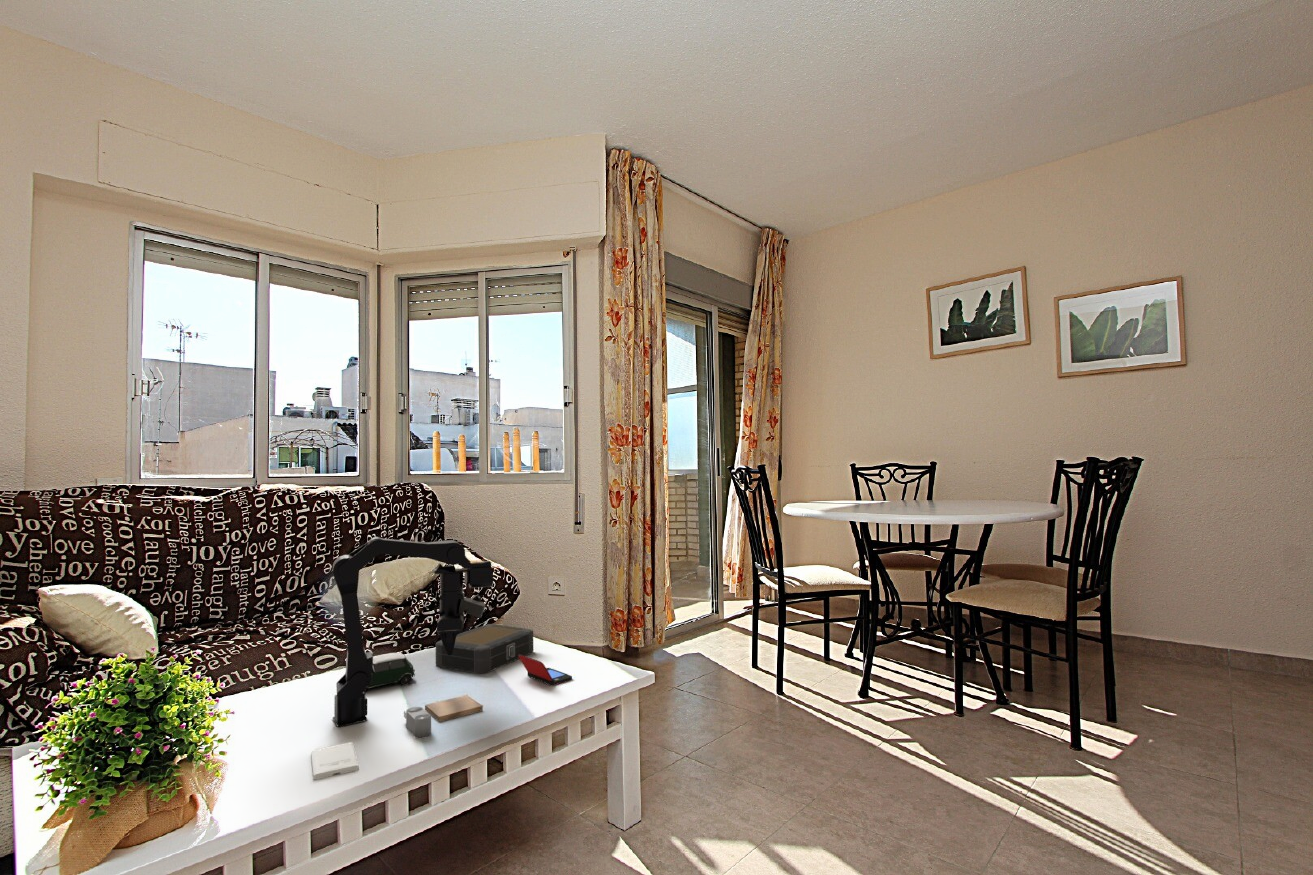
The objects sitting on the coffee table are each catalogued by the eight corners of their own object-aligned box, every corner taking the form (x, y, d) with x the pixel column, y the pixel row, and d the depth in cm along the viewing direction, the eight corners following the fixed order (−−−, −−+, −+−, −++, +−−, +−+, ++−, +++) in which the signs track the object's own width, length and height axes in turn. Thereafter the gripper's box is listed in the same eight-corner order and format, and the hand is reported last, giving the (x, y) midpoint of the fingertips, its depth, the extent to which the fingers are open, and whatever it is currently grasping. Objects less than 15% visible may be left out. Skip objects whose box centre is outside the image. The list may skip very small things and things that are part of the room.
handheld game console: (573, 680, 187) (573, 654, 187) (542, 690, 179) (542, 662, 180) (548, 670, 196) (548, 645, 196) (517, 679, 188) (516, 653, 188)
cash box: (484, 676, 192) (484, 649, 192) (433, 667, 201) (433, 641, 201) (537, 653, 214) (536, 629, 214) (488, 645, 223) (488, 622, 223)
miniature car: (341, 688, 183) (341, 659, 183) (408, 674, 194) (408, 647, 194) (349, 697, 176) (349, 667, 176) (417, 682, 187) (417, 654, 187)
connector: (417, 739, 148) (417, 721, 148) (401, 723, 157) (401, 706, 158) (433, 735, 150) (433, 717, 150) (416, 719, 160) (416, 702, 160)
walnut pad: (439, 721, 158) (439, 716, 158) (425, 709, 166) (425, 704, 166) (482, 710, 164) (482, 705, 164) (467, 699, 172) (467, 694, 172)
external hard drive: (353, 749, 145) (358, 772, 134) (310, 757, 140) (313, 782, 130) (353, 741, 145) (358, 763, 134) (311, 750, 141) (313, 773, 130)
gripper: (484, 594, 164) (483, 658, 164) (483, 582, 182) (482, 638, 182) (437, 597, 161) (436, 661, 161) (440, 583, 179) (439, 641, 179)
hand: (450, 650), depth 170 cm, fingers open, 9 cm apart
